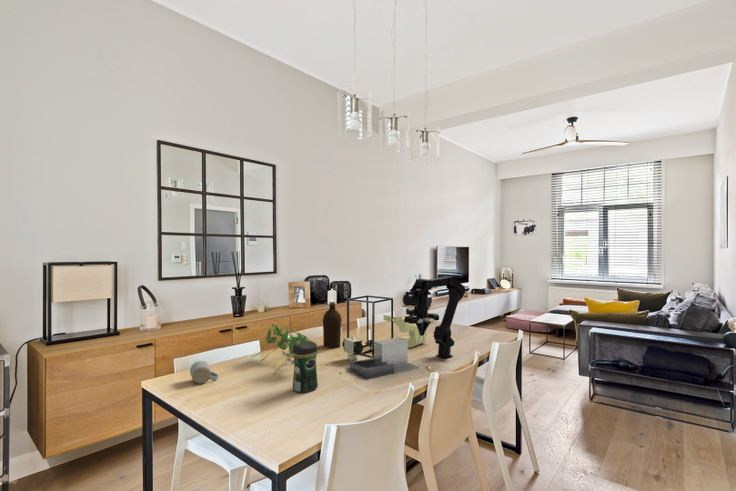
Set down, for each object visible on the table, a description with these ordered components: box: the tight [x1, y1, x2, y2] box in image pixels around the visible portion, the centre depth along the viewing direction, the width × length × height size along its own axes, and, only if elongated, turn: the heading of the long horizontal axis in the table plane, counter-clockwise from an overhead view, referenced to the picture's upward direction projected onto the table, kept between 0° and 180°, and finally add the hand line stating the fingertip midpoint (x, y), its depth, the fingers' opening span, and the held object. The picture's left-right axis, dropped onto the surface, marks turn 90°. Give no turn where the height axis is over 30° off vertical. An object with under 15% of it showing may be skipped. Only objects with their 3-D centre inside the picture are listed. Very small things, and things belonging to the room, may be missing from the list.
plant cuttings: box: [252, 324, 314, 375], centre depth 175 cm, size 35×17×22 cm
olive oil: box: [322, 301, 343, 349], centre depth 210 cm, size 11×11×25 cm
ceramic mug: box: [189, 360, 219, 385], centre depth 155 cm, size 11×8×8 cm
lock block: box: [373, 336, 409, 368], centre depth 173 cm, size 16×6×12 cm, turn 123°
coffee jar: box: [292, 340, 318, 394], centre depth 147 cm, size 10×8×19 cm
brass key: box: [424, 365, 435, 373], centre depth 169 cm, size 8×3×1 cm, turn 11°
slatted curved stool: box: [383, 310, 436, 348], centre depth 217 cm, size 30×16×18 cm, turn 139°
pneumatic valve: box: [341, 337, 364, 362], centre depth 183 cm, size 6×12×12 cm, turn 39°
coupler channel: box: [344, 357, 420, 381], centre depth 170 cm, size 30×18×4 cm, turn 123°
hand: (421, 335), depth 184 cm, fingers closed
